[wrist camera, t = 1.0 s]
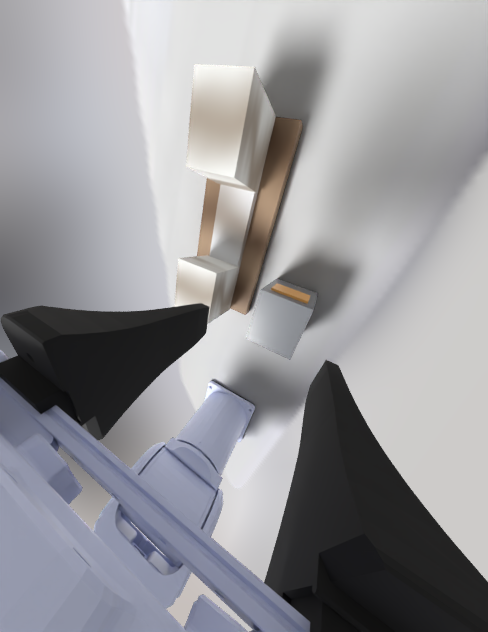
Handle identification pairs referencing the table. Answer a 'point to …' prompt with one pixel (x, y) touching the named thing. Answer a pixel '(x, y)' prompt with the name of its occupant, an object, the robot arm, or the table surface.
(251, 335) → the block
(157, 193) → the table surface
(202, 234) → the cream blocky elongated piece
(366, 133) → the table surface
